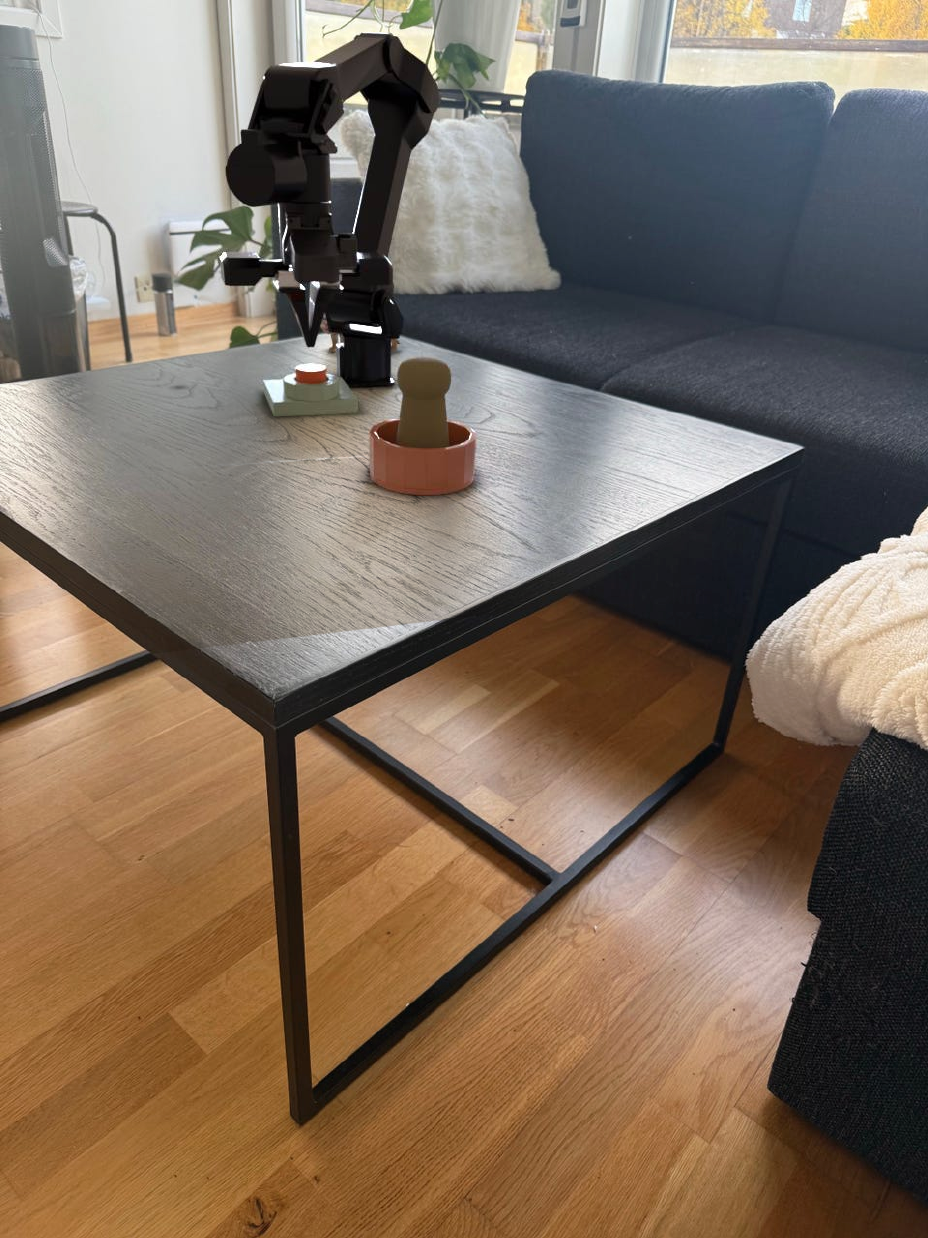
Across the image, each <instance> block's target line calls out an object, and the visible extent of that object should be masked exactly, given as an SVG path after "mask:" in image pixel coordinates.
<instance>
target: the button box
mask: <svg viewBox="0 0 928 1238" xmlns="http://www.w3.org/2000/svg"><path fill="white" fill-rule="evenodd" d="M326 378H327V382H323V383H316V384H307V383H300V382H297V381H296V372H294V373H289V374H287V375H286V376H284V377H283V378H282V379H281V378H280V379H263V380H262V382H263V384H262V385H263V394H264V396H265V399H266V401H267V403H268V406H269V408H270V410H271V413H272V415H273V417H293V416H294V417H295V416H313V415H317V416H318V415H335V414H336V415H337V414H356V413H357V414H358V413H359V400H358V398H357V396H356V395H355V393H354V392H353V390H351V387H348V385H347V384H346V383H345V381H344V380H343V378H342V377H339V376H338V375H334V374H331V373H328V372H326Z"/></svg>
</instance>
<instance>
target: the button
mask: <svg viewBox="0 0 928 1238" xmlns="http://www.w3.org/2000/svg"><path fill="white" fill-rule="evenodd" d="M295 373H296V381H297V382H300V383H307V384H316V383H323V382H327V378H326V373H327V367H326V366H325V365H323V364H317V363H304V364H298V365H297V366H295Z"/></svg>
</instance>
